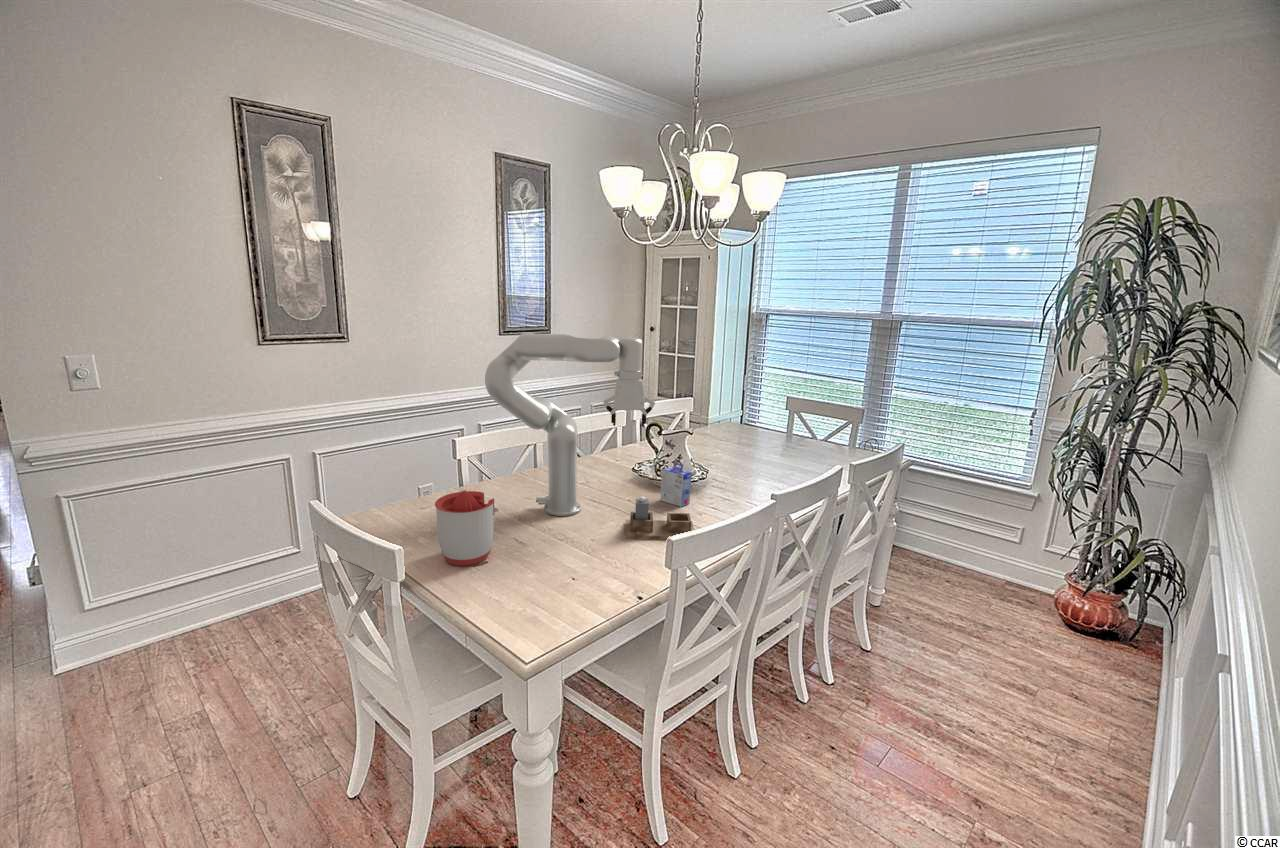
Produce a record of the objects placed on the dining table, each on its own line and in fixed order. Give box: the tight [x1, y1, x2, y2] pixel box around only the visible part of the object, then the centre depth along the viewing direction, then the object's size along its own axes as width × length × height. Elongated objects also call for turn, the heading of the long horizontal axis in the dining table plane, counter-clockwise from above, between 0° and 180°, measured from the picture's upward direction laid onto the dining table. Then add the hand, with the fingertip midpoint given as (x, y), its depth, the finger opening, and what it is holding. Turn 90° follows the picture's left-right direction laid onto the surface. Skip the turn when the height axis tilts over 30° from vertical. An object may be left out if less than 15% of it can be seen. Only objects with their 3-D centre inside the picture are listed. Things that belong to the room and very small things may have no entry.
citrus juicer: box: [434, 490, 500, 567], centre depth 157 cm, size 16×17×20 cm
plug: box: [634, 496, 650, 520], centre depth 178 cm, size 4×4×10 cm
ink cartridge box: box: [660, 462, 692, 507], centre depth 204 cm, size 10×6×14 cm, turn 51°
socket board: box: [625, 511, 695, 541], centre depth 179 cm, size 22×12×5 cm, turn 91°
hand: (628, 425), depth 190 cm, fingers open, 9 cm apart
